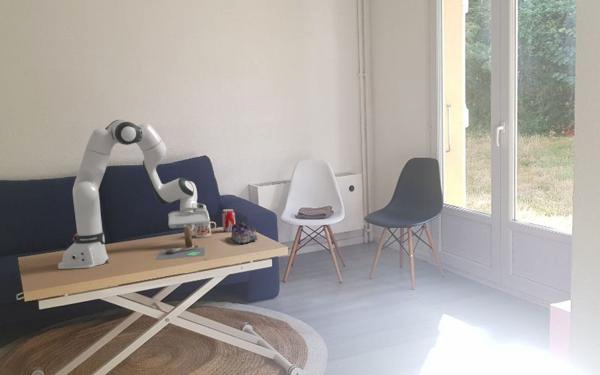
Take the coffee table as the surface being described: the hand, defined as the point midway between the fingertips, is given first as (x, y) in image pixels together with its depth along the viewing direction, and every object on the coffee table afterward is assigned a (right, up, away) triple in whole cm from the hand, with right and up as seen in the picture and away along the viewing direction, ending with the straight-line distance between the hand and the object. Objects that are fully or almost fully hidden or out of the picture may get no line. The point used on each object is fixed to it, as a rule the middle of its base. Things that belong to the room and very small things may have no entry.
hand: (189, 233), depth 284 cm
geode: (+24, -5, +16) cm, 30 cm away
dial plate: (-2, -10, -10) cm, 15 cm away
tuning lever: (-2, -8, -7) cm, 11 cm away
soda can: (+15, -2, +41) cm, 43 cm away
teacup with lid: (+3, -4, +32) cm, 33 cm away
